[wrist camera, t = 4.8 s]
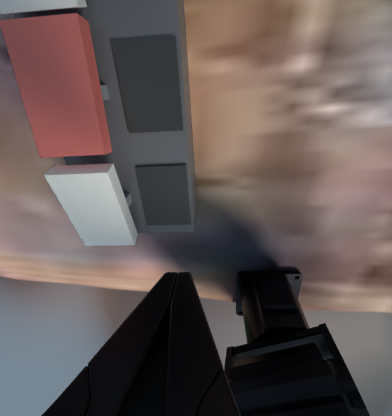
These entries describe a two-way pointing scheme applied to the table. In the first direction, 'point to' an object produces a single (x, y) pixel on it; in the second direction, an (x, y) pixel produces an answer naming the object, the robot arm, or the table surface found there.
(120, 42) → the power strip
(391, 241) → the table surface
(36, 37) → the red block
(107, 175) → the block
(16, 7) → the white rectangular block
